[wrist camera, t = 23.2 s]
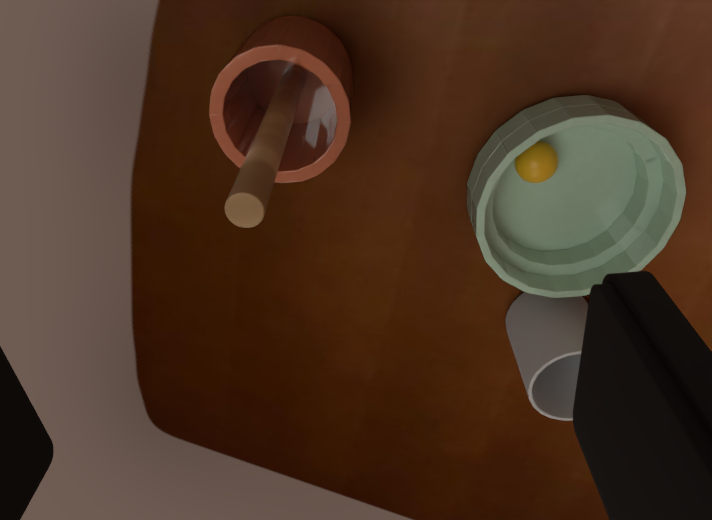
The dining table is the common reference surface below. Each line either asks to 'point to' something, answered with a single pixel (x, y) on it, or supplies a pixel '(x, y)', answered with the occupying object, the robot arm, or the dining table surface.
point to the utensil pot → (259, 82)
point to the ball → (537, 162)
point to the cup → (548, 349)
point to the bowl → (575, 197)
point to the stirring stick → (265, 153)
